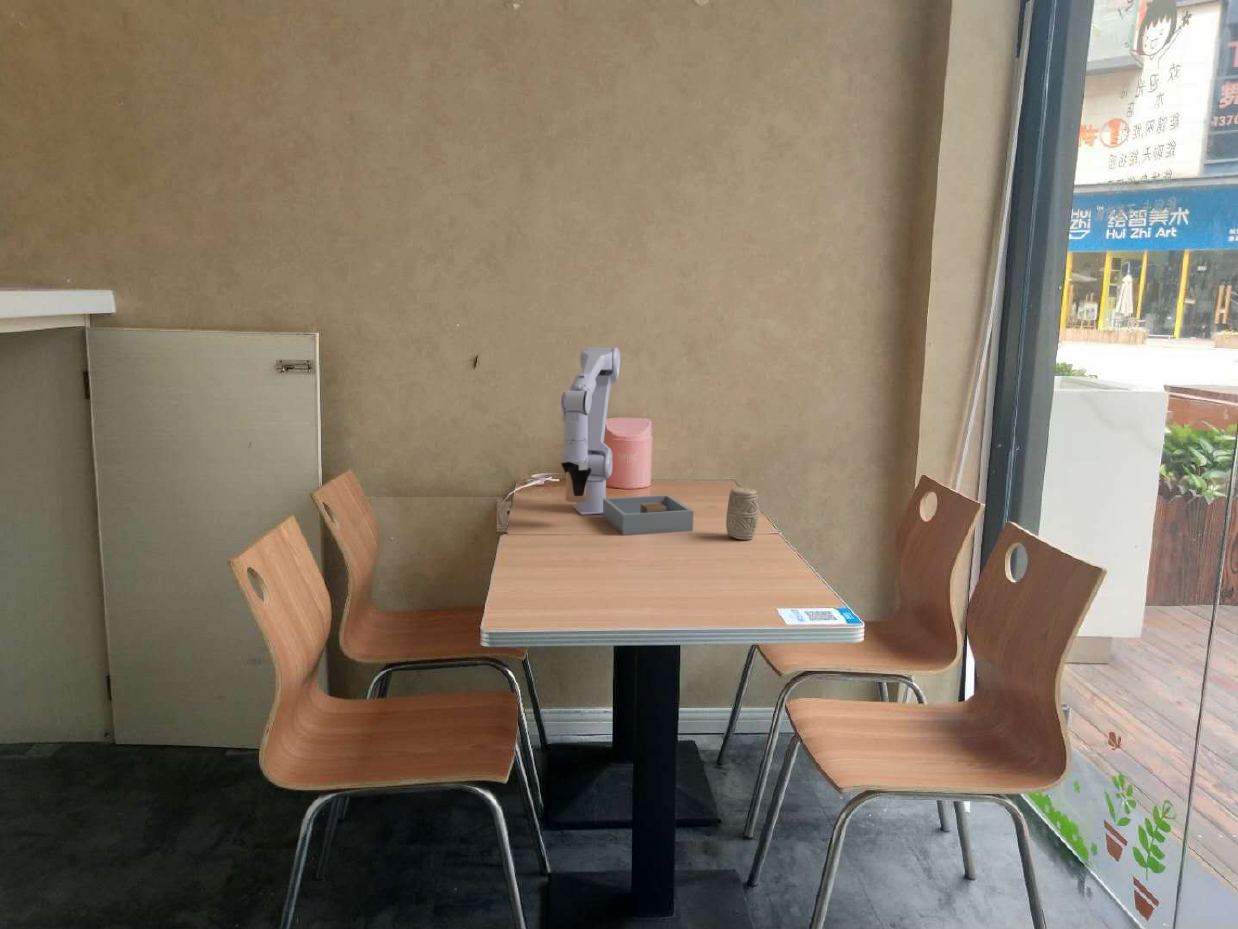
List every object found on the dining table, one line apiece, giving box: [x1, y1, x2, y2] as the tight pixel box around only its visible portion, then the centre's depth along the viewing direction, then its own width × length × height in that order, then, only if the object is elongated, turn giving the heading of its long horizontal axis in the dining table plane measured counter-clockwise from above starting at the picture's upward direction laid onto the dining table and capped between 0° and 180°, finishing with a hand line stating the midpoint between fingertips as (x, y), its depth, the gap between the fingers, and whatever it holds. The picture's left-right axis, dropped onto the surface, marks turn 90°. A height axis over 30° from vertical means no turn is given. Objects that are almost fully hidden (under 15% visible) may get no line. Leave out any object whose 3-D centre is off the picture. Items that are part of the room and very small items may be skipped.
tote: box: [602, 494, 694, 536], centre depth 228 cm, size 18×18×5 cm
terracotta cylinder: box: [565, 471, 586, 503], centre depth 224 cm, size 5×5×7 cm
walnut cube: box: [640, 503, 666, 513], centre depth 224 cm, size 5×5×5 cm
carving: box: [725, 486, 759, 541], centre depth 216 cm, size 6×8×12 cm
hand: (576, 493), depth 224 cm, fingers closed on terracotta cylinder, 5 cm apart
